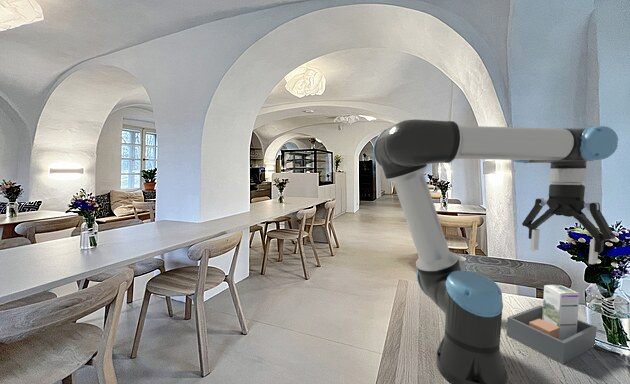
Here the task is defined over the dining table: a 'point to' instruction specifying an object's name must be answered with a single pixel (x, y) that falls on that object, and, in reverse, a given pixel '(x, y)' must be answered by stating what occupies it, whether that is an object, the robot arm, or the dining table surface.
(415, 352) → the dining table surface
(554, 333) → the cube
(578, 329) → the tote
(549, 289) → the syrup box
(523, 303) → the dining table surface
